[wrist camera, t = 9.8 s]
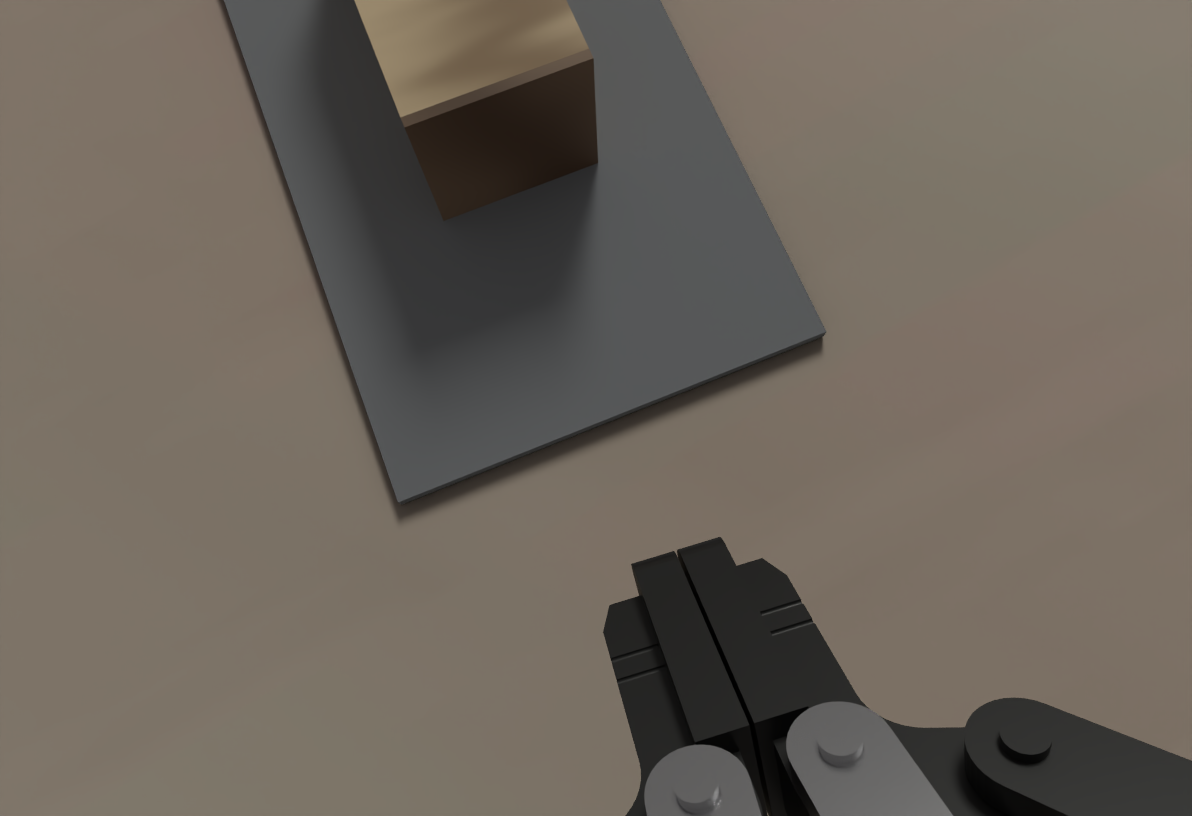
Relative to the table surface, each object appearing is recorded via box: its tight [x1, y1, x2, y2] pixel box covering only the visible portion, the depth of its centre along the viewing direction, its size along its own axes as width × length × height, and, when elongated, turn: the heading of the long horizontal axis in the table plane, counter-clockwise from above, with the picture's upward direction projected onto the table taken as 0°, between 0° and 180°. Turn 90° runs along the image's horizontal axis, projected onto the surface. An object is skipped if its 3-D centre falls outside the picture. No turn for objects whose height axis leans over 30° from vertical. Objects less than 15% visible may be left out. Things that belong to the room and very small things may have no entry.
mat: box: [224, 0, 826, 505], centre depth 28 cm, size 13×22×1 cm, turn 22°
